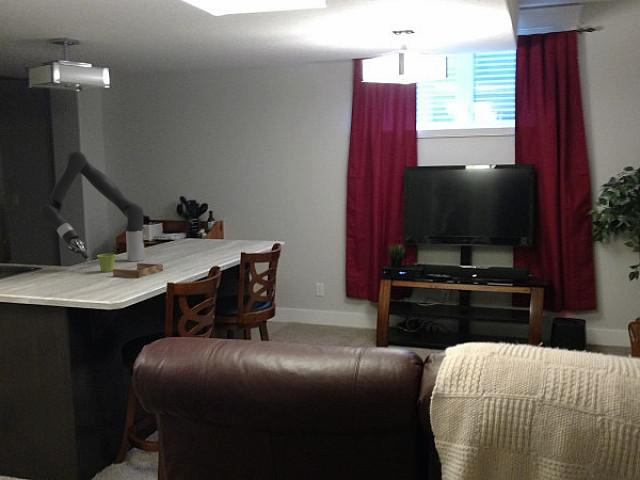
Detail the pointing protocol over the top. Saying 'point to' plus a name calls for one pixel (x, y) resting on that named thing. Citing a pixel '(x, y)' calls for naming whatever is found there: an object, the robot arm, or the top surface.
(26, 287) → the top surface
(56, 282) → the top surface
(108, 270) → the plant pot
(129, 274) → the wooden u bracket
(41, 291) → the top surface
